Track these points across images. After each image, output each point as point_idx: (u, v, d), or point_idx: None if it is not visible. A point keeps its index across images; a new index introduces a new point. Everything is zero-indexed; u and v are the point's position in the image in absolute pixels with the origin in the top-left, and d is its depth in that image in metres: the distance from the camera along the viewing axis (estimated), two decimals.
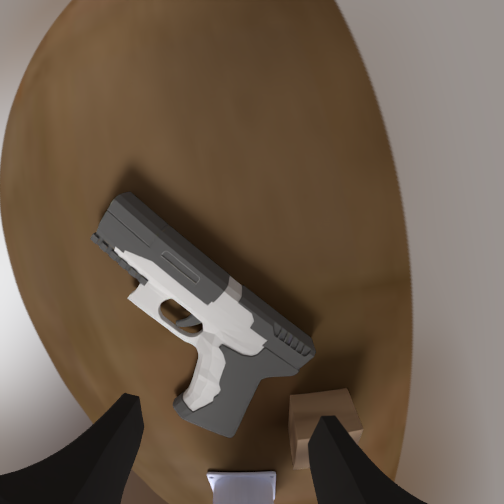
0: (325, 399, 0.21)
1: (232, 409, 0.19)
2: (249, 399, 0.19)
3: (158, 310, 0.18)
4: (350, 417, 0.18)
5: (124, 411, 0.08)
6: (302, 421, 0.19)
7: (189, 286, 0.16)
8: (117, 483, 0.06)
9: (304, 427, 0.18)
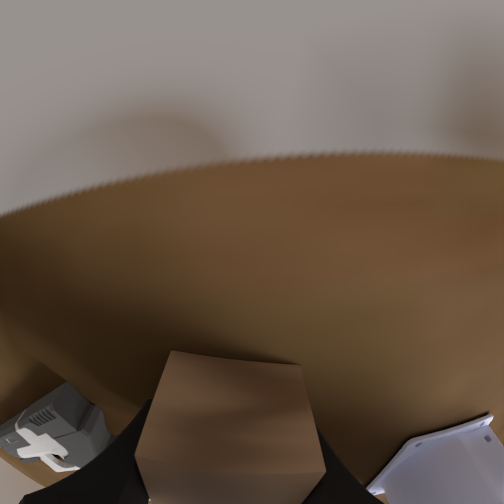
0: None
1: None
2: None
3: (59, 464, 0.13)
4: None
5: None
6: None
7: (21, 444, 0.11)
8: (144, 491, 0.06)
9: None
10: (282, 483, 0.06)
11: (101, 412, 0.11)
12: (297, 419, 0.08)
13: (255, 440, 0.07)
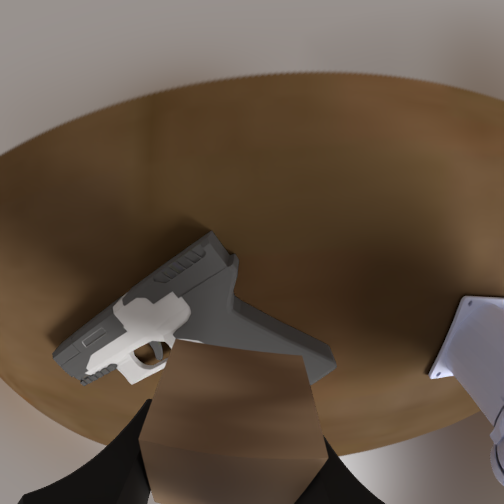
0: None
1: None
2: (263, 332, 0.16)
3: (143, 367, 0.18)
4: None
5: None
6: None
7: (108, 338, 0.16)
8: (144, 491, 0.06)
9: None
10: (284, 470, 0.06)
11: (238, 261, 0.17)
12: (299, 407, 0.08)
13: (259, 426, 0.07)
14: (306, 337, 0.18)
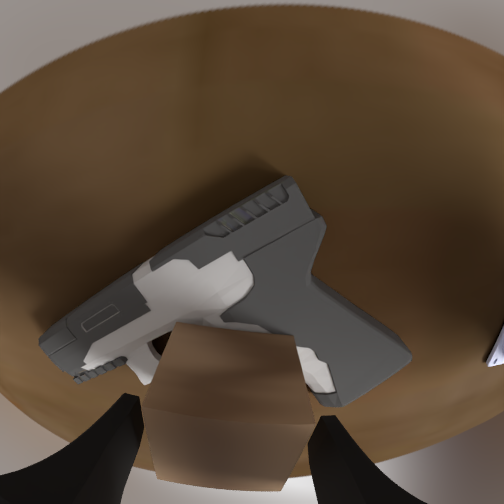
0: None
1: (355, 343, 0.12)
2: (345, 314, 0.12)
3: None
4: None
5: (124, 411, 0.08)
6: None
7: (121, 320, 0.12)
8: (117, 483, 0.06)
9: None
10: (275, 437, 0.07)
11: None
12: (289, 379, 0.09)
13: (251, 395, 0.08)
14: (380, 324, 0.14)
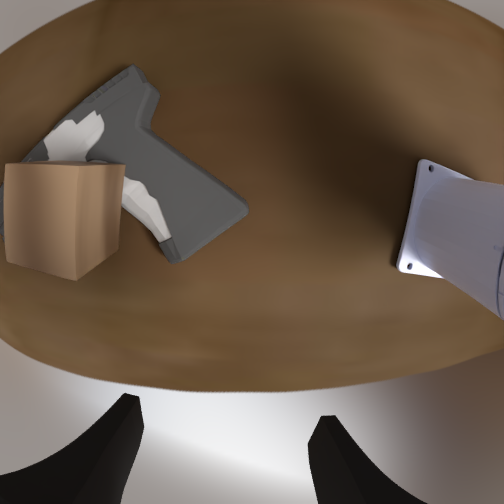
0: None
1: (177, 179, 0.15)
2: (165, 150, 0.14)
3: None
4: None
5: (124, 411, 0.08)
6: None
7: None
8: (117, 483, 0.06)
9: None
10: (58, 181, 0.10)
11: (159, 95, 0.15)
12: (92, 164, 0.11)
13: (61, 163, 0.10)
14: (218, 180, 0.16)
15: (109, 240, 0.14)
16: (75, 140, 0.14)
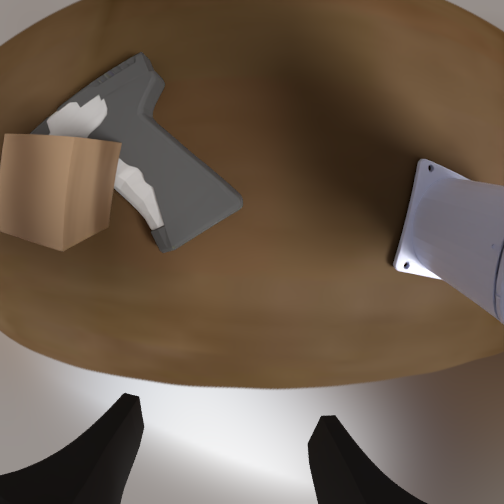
0: None
1: (174, 168, 0.15)
2: (165, 139, 0.14)
3: None
4: None
5: (124, 411, 0.08)
6: None
7: None
8: (117, 483, 0.06)
9: None
10: (54, 150, 0.09)
11: (164, 85, 0.15)
12: None
13: None
14: (215, 172, 0.16)
15: (99, 216, 0.14)
16: (77, 123, 0.14)
